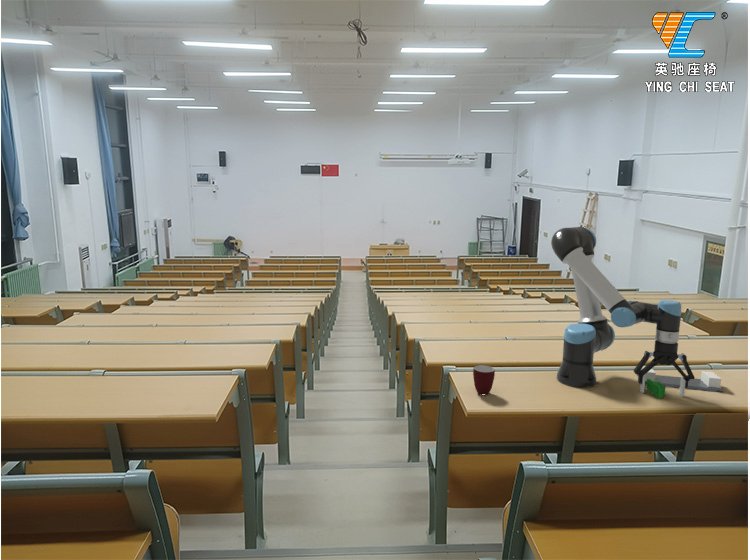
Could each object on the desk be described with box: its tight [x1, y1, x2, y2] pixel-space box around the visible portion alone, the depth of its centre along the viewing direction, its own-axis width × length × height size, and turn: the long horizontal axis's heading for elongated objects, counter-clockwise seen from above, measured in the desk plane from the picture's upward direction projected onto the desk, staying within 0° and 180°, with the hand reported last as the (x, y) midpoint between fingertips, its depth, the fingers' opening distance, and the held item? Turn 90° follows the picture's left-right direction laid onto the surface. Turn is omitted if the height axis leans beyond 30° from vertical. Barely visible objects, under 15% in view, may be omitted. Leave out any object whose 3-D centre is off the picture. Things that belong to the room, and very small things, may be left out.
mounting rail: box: [636, 365, 723, 393], centre depth 193 cm, size 28×10×5 cm, turn 74°
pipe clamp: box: [645, 379, 667, 400], centre depth 183 cm, size 10×4×4 cm, turn 173°
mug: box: [472, 364, 496, 395], centre depth 183 cm, size 10×8×10 cm
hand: (661, 393), depth 183 cm, fingers open, 13 cm apart
